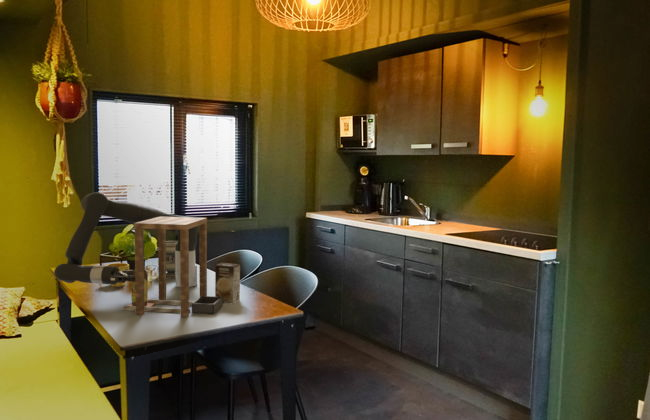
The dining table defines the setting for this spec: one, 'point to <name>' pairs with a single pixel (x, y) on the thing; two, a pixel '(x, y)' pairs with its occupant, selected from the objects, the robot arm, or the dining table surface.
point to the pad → (147, 304)
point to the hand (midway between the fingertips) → (142, 276)
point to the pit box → (207, 305)
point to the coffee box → (227, 282)
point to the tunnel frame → (162, 225)
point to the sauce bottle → (144, 288)
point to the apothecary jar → (170, 259)
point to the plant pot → (121, 267)
